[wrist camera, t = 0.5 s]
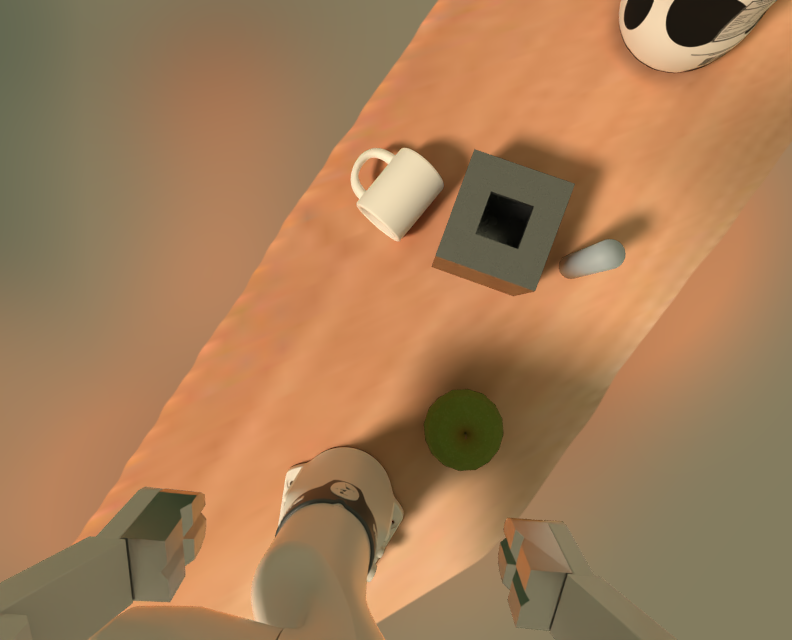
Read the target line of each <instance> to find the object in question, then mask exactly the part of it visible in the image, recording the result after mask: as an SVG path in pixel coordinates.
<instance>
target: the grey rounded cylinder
mask: <svg viewBox="0 0 792 640" xmlns="http://www.w3.org/2000/svg"><path fill="white" fill-rule="evenodd" d="M624 259H625V249H624V247H623V245H622V244H621V243H620V242H618V241H616V240H613V239H607V240H604V241H601V242H599V243H596V244H594V245H591V246H589V247H587V248H584V249H582V250H579V251H577V252H574V253H572V254H569V255H567V256H565V257H563V258H562V259H561V261H560V263H559V270H560V273H561V274H562V275H563V276H564V277H566V278H568V279H574V278H578V277H582V276H586V275H590V274H594V273H598V272H603V271H607V270H611V269H615V268H617V267H619V266H620V265H621V264H622V263H623V261H624Z"/></svg>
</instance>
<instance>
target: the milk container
mask: <svg viewBox="0 0 792 640" xmlns="http://www.w3.org/2000/svg"><path fill="white" fill-rule="evenodd" d="M776 1H777V0H621V2H620V8H619V28H620V32H621V35H622V38H623V41H624V43H625V45H626V47H627V48H628V49H629V51H630V52H631V53H632V54H633V56H634V57H635V58H636V59H637V60H639V61H640V62H641V63H643V64H645V65H646V66H648V67H650V68H652V69H655V70H658V71H663V72H669V73H679V72H686V71H691V70H695V69H698V68H701V67H703V66H705V65H707V64H709V63H711V62H713V61H715V60H716V59H718V58H720V57H721V56H723V55H724V54H726V53H727V52H728V51H730V50H731V49H732V48H734V47H735V46H736V45H737V44H739V43H740V42H741V41H742V40H743V39H744V38H745V37H746V36H747V35H748V34H749V33H750V32H751V30H752V29H753V28H754V27H755V26H756V24H757V23H758V22H759V20H760V19H761V18H762V16H763V15H764V14H765V12H766V11H767V10H768V9H769V7H770V6H771V5H772V4H774V3H775V2H776Z"/></svg>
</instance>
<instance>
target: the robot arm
mask: <svg viewBox="0 0 792 640" xmlns="http://www.w3.org/2000/svg"><path fill="white" fill-rule="evenodd" d="M291 481H293V482H292V483H291ZM205 505H206V504H205V494H203V493H201V492H192V491H183V490H174V489H160V488H152V487H144V488H142V489H140V490H139V491H138V492H137V493H136V494H135V495H134V496H133V497H132V498H131V499H130V500H129V501H128V502H127V504H126V505H125V506H124V507H123V508H122V509H121V510H120V511H119V512H118V513H117V514H116V515H115V517H114V518H113V519H112V520H111V521H110V522H109V523H108V524H107V525H106V526H105V527H104V528H103V530H102V531H101V532H100V533H99V534H98V535H97V536H96V537H88V538H86V539H84V540H82V541H80V542H78V543H76V544H74V545H72V546H70V547H69V548H66V549H64V550H62V551H61V552H59V553H57V554H55V555H53V556H51V557H49V558H47V559H45V560H43V561H41V562H39V563H38V564H36V565H34V566H32V567H30V568H28V569H26V570H24V571H22V572H20V573H18V574H16V575H14V576H13V577H10V578H8V579H6V580H4V581H3V582H1V583H0V640H385V638H384V637H383V635H382V633H381V632H380V630H379V628H378V627H377V625H376V623H375V621H374V619H373V617H372V615H371V613H370V610H369V608H368V605H367V601H366V585H367V582H371V580H372V579H373V577H374V575H375V572H376V569H377V565H376V564H375V563H376V562H377V560H378V558H381V557H382V555H383V553H384V550H385V547H386V546H387V544H388V542H389V541H390V539H391V537H392V536H393V534H394V533H395V531H396V529H397V528H398V526H399V524H400V523H401V521H402V519H403V515H404V511H403V509H402V507H401V505H400V504H399V502H398V501H397V500H396V498H395V497H394V495H393V491H392V487H391V483H390V480H389V477H388V475H387V473H386V471H385V470H384V468H383V467H382V465H381V464H380V463H379V462H378V461H377V460H376V459H375V458H373V457H372V456H371V455H369V454H368V453H366V452H364V451H361V450H358V449H355V448H349V447H339V448H333V449H330V450H327V451H325V452H323V453H321V454H319V455H318V456H316V457H315V458H314V459H312V460H311V461H309V462H307V463H303V464H299V465H295V466H293V467H291V468H290V469H289V470H288V472H287V474H286V478H285V485H284V492H283V498H282V505H281V511H280V518H279V524H278V529H277V531H276V535H275V539H274V540H273V542H272V543H271V545H270V547H269V548H268V550H267V551H266V553H265V554H264V556H263V558H262V559H261V561H260V563H259V564H258V566H257V569H256V571H255V574H254V578H253V581H252V587H251V604H252V610H253V616H254V620H255V621H253V620H249V619H245V618H242V617H238V616H234V615H230V614H227V613H223V612H219V611H215V610H212V609H208V608H204V607H195V606H136V607H133V608H130V609H128V610H126V611H125V612H123V613H121V612H122V611H123V610H125V609H126V608H127V607H128V606H130V605H131V604H132V603H133V601H155V602H170V601H171V600H172V598H173V596H174V595H175V593H176V591H177V589H178V588H179V586H180V584H181V582H182V581H183V579H184V577H185V566H186V565H187V564H189V563H190V562H191V561H193V560H194V559H195V558H196V556H197V554H198V553H199V551H200V549H201V546H202V543H203V540H204V537H205V532H206V518H205V517H204V516H203V514H202V513H201V511H202V510H203V508H204V507H205ZM392 520H394V522H392ZM503 530H504V533H505V536H506V538H505V539H504V540H503V541H501V543H500V547H499V553H498V555H499V556H498V559H499V561H498V564H499V571H500V575H501V579H502V583H503V584H504V585H505V586H506V587H507V588H508V589H509V590H510V592H509V596H508V603H509V607H510V610H511V613H512V617H513V620H514V623H515V626H516V628H526V629H535V630H544V631H550V634H551V635H552V636H553V638H554V639H555V640H677V639H676V638H675V637H674V636H672V635H671V634H670V633H669V632H668V631H666V630H665V629H664V628H662V627H661V626H660V625H659V624H658V623H656V622H655V621H654V620H653V619H652V618H650V617H649V616H648V615H647V614H646V613H644V612H643V611H642V610H641V609H639V608H638V607H637V606H636V605H635V604H633V603H632V602H631V601H630V600H628V599H627V598H626V597H625V596H624V595H622V594H621V593H620V592H619V591H617V590H616V589H615V588H614V587H613V586H611V585H610V584H609V583H608V582H606V581H605V580H604V579H603V578H602V577H600V576H594V574H593V572H592V570H591V568H590V566H589V565H588V563H587V561H586V559H585V558H584V556H583V554H582V552H581V550H580V549H579V547H578V545H577V543H576V542H575V540H574V538H573V536H572V534H571V532H570V531H569V529H568V527H567V525H566V524H565V523H564V522H562V521H548V520H544V521H543V520H531V519H518V518H507V520H506V521H505V525H504V529H503ZM120 613H121V614H120ZM118 614H120V615H118ZM117 615H118V616H117ZM116 616H117V617H116Z"/></svg>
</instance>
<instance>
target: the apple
mask: <svg viewBox="0 0 792 640" xmlns="http://www.w3.org/2000/svg"><path fill="white" fill-rule="evenodd" d="M424 431H425V440H426V442H427V444H428V446H429V449H430V451H431V453H432V454H433V455H434V456H435V457H436V458H437V459H438V460H439V461H440V462H441V463H442V464H443V465H445V466H448V467H451V468H453V469H456V470H458V471H464V470H476V469H478V468H479V467H481V466H483V465H485V464H486V463H488V462H489V461H490V460H491V459H492V457H493V456H494V455H495V454H496V452H497V451H498V450H499V447H500V444H501V441H502V437H503V423H502V417H501V416H500V414H499V412H498V410H497V408H496V406H495V404H494V403H493V402H491V401H490V400H489V399H488V398H487V397H486V396H485V395H484V394H482V393H478V392H475V391H472V390H469V389H464V390H451V391H450V392H448V393H446V394H445V395H443V396H441V397H439V398H438V399H437V400H436V401H435V402H434V404H433V405H432V406H431V407H430V408H429V410H428V413H427V416H426V419H425V422H424Z"/></svg>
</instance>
